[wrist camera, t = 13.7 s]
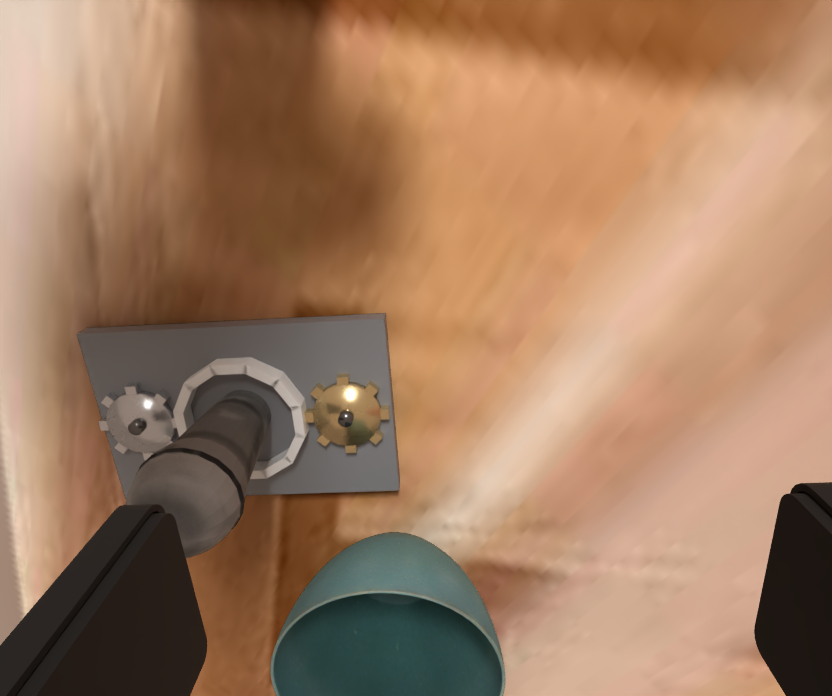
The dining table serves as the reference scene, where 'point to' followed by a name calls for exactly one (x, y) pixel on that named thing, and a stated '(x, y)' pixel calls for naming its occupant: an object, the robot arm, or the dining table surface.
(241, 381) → the gear board
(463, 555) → the dining table surface
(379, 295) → the dining table surface
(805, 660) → the robot arm
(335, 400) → the gear
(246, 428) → the beverage cup
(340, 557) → the plant pot
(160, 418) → the gear
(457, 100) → the dining table surface
